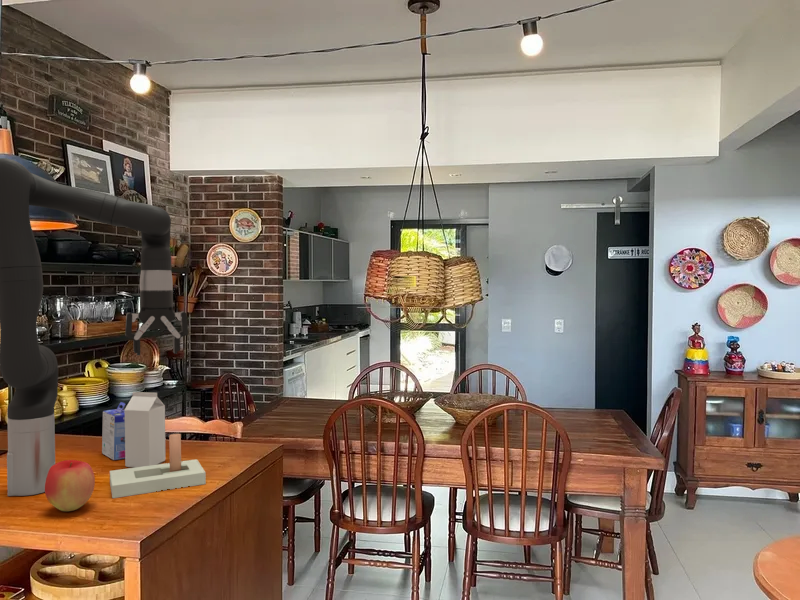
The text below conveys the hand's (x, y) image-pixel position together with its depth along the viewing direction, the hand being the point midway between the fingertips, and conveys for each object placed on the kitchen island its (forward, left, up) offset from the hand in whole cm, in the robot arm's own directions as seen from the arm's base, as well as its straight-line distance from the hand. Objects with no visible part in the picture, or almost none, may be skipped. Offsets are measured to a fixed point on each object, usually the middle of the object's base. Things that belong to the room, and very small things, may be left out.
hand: (157, 354), depth 149 cm
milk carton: (-2, +11, -30) cm, 32 cm away
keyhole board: (-1, -7, -30) cm, 31 cm away
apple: (-19, -16, -30) cm, 39 cm away
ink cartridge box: (-8, +23, -30) cm, 39 cm away
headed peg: (+3, -7, -30) cm, 31 cm away
